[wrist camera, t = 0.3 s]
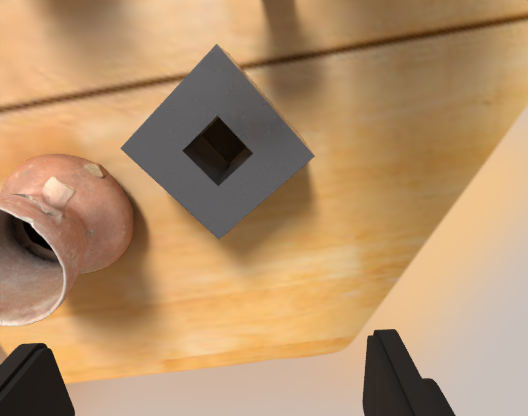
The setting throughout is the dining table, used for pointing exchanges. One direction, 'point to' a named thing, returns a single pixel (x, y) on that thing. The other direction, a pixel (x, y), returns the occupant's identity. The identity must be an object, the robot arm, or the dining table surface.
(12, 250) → the ceramic jug
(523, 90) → the dining table surface
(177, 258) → the dining table surface
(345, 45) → the dining table surface
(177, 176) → the hitch block
